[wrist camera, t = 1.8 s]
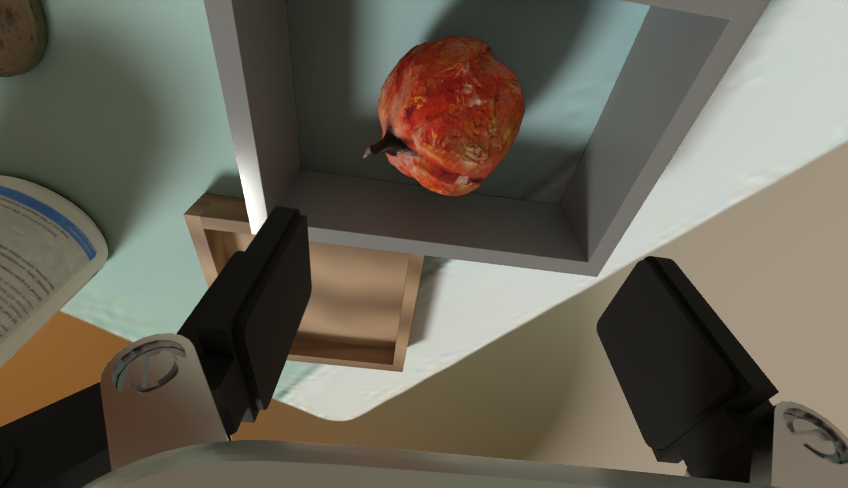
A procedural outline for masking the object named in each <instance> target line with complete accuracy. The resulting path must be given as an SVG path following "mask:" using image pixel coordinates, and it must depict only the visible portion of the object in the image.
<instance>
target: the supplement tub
mask: <svg viewBox="0 0 848 488" xmlns="http://www.w3.org/2000/svg"><path fill="white" fill-rule="evenodd" d="M107 257H108V247H107V244H106V241H105V239H104V237H103V235H102V234H101V232H100V231H99V229H98V227H97V226H96V225H95V223H94V222H93V221H92V220H91V219H90V218H89V216H87V215H86V214H85V213H84V212H83V211H82V210H81V209H79V208H78V207H77V206H76V205H74V204H73V203H71V202H70V201H69V200H67V199H65V198H64V197H62V196H60V195H59V194H57V193H55V192H53V191H51V190H49V189H47V188H45V187H42V186H40V185H38V184H35V183H32V182H29V181H26V180H23V179H19V178H15V177H10V176H3V175H0V368H1V367H2V366H3V365H4V364H5V363H6V362H7V361H8V360H9V359H10V358H11V357H12V356H13V355H14V354H15V353H16V352H17V351H18V350H19V349H20V348H21V347H22V346H23V345H24V344H25V343H26V342H27V341H28V340H29V339H30V338H32V337H33V336H34V335H35V334H36V333H37V332H38V331H39V330H40V329H41V328H42V327H43V326H44V325H45V324H46V323H47V322H48V321H49V320H50V319H51V318H52V317H53V316H54V315H55V314H56V313H57V312H58V311H59V310H60V309H61V308H62V307H63V306H64V305H65V304H66V303H67V302H68V301H69V300H70V299H72V298H73V297H74V296H75V295H76V294H77V293H78V292H79V291H80V290H81V289H82V288H83V287H84V286H85V285H86V284H87V283H88V282H89V281H90V280H91V279H92V278H93V277H94V276H95V275H96V274H97V273H98V272H99V271H100V270H101V269H102V268H103V266H104V265H105V263H106V261H107Z"/></svg>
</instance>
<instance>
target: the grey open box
mask: <svg viewBox="0 0 848 488" xmlns="http://www.w3.org/2000/svg"><path fill="white" fill-rule="evenodd" d="M623 1H628V2H634V3H640V4H645V5H651V6H650V9H649V11H648V13H647V15H646V17H645V20H644V22H643V24H642V26H641V28H640V31H639V33H638V35H637V37H636V39H635V42H634V44H633V46H632V48H631V50H630V53H629V55H628V57H627V59H626V61H625V64H624V66H623V68H622V70H621V72H620V75H619V77H618V79H617V81H616V83H615V86H614V88H613V90H612V92H611V94H610V97H609V99H608V101H607V103H606V105H605V107H604V110H603V112H602V114H601V116H600V118H599V121H598V123H597V125H596V127H595V129H594V132H593V134H592V136H591V138H590V140H589V143H588V145H587V147H586V149H585V151H584V154H583V156H582V158H581V160H580V162H579V165H578V167H577V169H576V171H575V173H574V176H573V178H572V180H571V182H570V184H569V187H568V189H567V191H566V193H565V195H564V198H563V200H562V202H561V204H560V205H555V204H548V203H541V202H533V201H526V200H519V199H512V198H504V197H497V196H490V195H483V194H475V193H467V194H464V195H461V196H447V195H443V194H440V193H437V192H434V191H431V190H429V189H427V188H425V187H424V186H417V185H410V184H403V183H396V182H388V181H381V180H374V179H367V178H359V177H352V176H345V175H338V174H330V173H323V172H316V171H309V170H301V168H300V156H299V144H298V132H297V120H296V109H295V97H294V85H293V73H292V61H291V50H290V38H289V26H288V14H287V2H286V0H204V4H205V8H206V13H207V18H208V23H209V28H210V33H211V37H212V42H213V47H214V52H215V57H216V62H217V67H218V71H219V76H220V81H221V86H222V91H223V96H224V101H225V105H226V110H227V115H228V120H229V125H230V130H231V135H232V139H233V144H234V149H235V154H236V159H237V164H238V168H239V173H240V178H241V183H242V188H243V193H244V198H245V202H246V207H247V212H248V217H249V222H250V227H251V232H252V234H257V233H258V231H259V230H260V228H261V227H262V225H263V224H264V222H265V221H266V219H267V218H268V216H269V215H270V213H271V212H272V210H273V209H274V208H275V207H276V206H281V207H289V208H296V209H299V211H300V214H301V215H306V217H307V225H308V239H309V241H313V242H321V243H329V244H337V245H345V246H353V247H361V248H369V249H377V250H385V251H393V252H401V253H409V254H417V255H425V256H433V257H441V258H450V259H458V260H466V261H474V262H482V263H490V264H498V265H506V266H514V267H522V268H530V269H538V270H546V271H554V272H562V273H570V274H578V275H586V276H594V277H597V276H598V275H599V273H600V271H601V270H602V268H603V267H604V265H605V263H606V262H607V260H608V259H609V257H610V255H611V254H612V252H613V251H614V249H615V248H616V246H617V244H618V243H619V241H620V240H621V238H622V236H623V235H624V233H625V232H626V230H627V228H628V227H629V225H630V224H631V222H632V220H633V219H634V217H635V216H636V214H637V213H638V211H639V209H640V208H641V206H642V205H643V203H644V201H645V200H646V198H647V197H648V195H649V193H650V192H651V190H652V189H653V187H654V185H655V184H656V182H657V181H658V179H659V178H660V176H661V174H662V173H663V171H664V170H665V168H666V166H667V165H668V163H669V162H670V160H671V158H672V157H673V155H674V154H675V152H676V150H677V149H678V147H679V146H680V144H681V142H682V141H683V139H684V138H685V136H686V135H687V133H688V131H689V130H690V128H691V127H692V125H693V123H694V122H695V120H696V119H697V117H698V115H699V114H700V112H701V111H702V109H703V107H704V106H705V104H706V103H707V101H708V100H709V98H710V96H711V95H712V93H713V92H714V90H715V88H716V87H717V85H718V84H719V82H720V80H721V79H722V77H723V76H724V74H725V72H726V71H727V69H728V68H729V66H730V65H731V63H732V61H733V60H734V58H735V57H736V55H737V53H738V52H739V50H740V49H741V47H742V45H743V44H744V42H745V41H746V39H747V37H748V36H749V34H750V33H751V31H752V30H753V28H754V26H755V25H756V23H757V22H758V20H759V18H760V17H761V15H762V14H763V12H764V10H765V9H766V7H767V6H768V4H769V2H770V1H771V0H623Z"/></svg>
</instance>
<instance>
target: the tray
mask: <svg viewBox="0 0 848 488" xmlns="http://www.w3.org/2000/svg"><path fill="white" fill-rule="evenodd" d="M184 217H185V220H186V223H187V226H188V229H189V232H190V235H191V237H192V240H193V243H194V246H195V249H196V252H197V255H198V258H199V261H200V264H201V267H202V269H203V272H204V275H205V278H206V281H207V284H208V287H210V286H211V285H212V283H213V282H214V280H215V279H216V278H217V276H218V275H219V273H220V272H221V271H222V269H223V268H224V266H225V265H226V263H227V262H228V261H229V259H230V258H231V256H232V255H233V254H234V253H235V252H237V251H245V250H246V249H247V247H248V246H249V244H250V243H251V241H252V240H253V238H254V237H255V235H256V234H252V232H251V227H250V222H249V217H248V212H247V207H246V202H245V199H241V198H234V197H226V196H218V195H211V194H203V195H202V196H201V197H200V198H199V199H198V200H197V201H196V202H195V203H194V204H193V205H192V206H191V207H190V208H189V209H188V210H187V211H186V212H185V213H184ZM309 253H310V267H311V281H312V291H311V296H310V299H309V302H308V305H307V307H306V310H305V313H304V315H303V318H302V320H301V323H300V326H299V328H298V331H297V333H296V336H295V339H294V341H293V344H292V346H291V349H290V352H289V354H288V357H287V359H286V360H290V361H300V362H309V363H319V364H329V365H339V366H349V367H359V368H369V369H379V370H388V371H398V372H402V371H403V366H404V361H405V356H406V350H407V345H408V340H409V335H410V329H411V324H412V319H413V313H414V308H415V303H416V298H417V292H418V287H419V282H420V277H421V271H422V266H423V261H424V256H425V255H417V254H409V253H401V252H393V251H385V250H377V249H369V248H361V247H353V246H345V245H337V244H329V243H321V242H313V241H309Z"/></svg>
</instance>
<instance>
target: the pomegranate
mask: <svg viewBox="0 0 848 488" xmlns="http://www.w3.org/2000/svg"><path fill="white" fill-rule="evenodd" d="M524 111H525V106H524V99H523V94H522V90H521V87H520V83H519V80H518V77H517V76H516V74H515V73H514V71H512V70H511V69H510V68H509V67H508V66H506V65H504V64H503V63H502V62H501V61H498V60H496V59H495V58H494V57H493V55H492V51H491V48H490V47H489V45H488V44H487V43H485V42H483V41H481V40H478V39H475V38H467V37H459V36H449V37H445V38H443V39H439V40H437V41H434V42H432V43H428V42H426V43H423V44H421V45H416V46H415V47H413V48H412V49H411V50H410V51H409V52H408V53H407V54H405V55H404V56H403V57H402V58H401V59H400V60H399V62H398V63H397V65H396V66H395V67H394V69H393V70H392V71H391V73H390V74H389V75H388V77H387V79H386V81H385V83H384V84H383V86H382V88H381V93H380V98H379V101H378V115H379V119H380V123H381V126H382V130H383V136H382V140H381V141H379V142H377V143H376V144H374V145H371V146H370V147H368V148H367V149H366V151H365V154H364V157H363V159H364V158H366V157H368V156H372V155H375V154H380V153H386V155H387V157H388V160H389V162H390V163H391V164H392V165H394V166H395V167H396V168H397V169H398V170H399V171H400V172H401V173H403V174H405V175H407V176H409V177H411V178H415V179H416V180H417V181H418V182H419V183H420V184H421V185H422V186H424V187H425V188H427V189H429V190H431V191H434V192H437V193H440V194H443V195H447V196H461V195H464V194H467V193H469V192H471V191H473V190H475V189H477V188H478V187H479V186H480V185H481V184H482V182H483V181H484V179H485V178H486V177H487V176H488V175H489V174H490V173H491V172H492V170H493V169H494V168H495V167H496V166H497V165H498V164H499V163H500V162H501V161H502V159H503V158H504V157H505V156H506V154H507V152H508V151H509V149H510V147H511V145H512V143H513V141H514V139H515V137H516V136H517V134H518V132H519V129H520V125H521V122H522V118H523V115H524Z"/></svg>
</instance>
